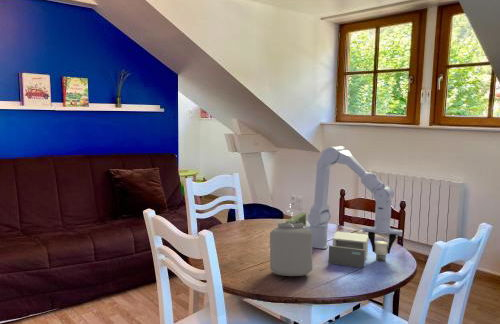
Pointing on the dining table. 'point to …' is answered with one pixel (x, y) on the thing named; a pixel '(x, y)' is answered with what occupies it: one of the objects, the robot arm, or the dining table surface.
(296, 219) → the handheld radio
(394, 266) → the dining table surface
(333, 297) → the dining table surface
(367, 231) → the robot arm
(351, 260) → the grey box with handle
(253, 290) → the dining table surface
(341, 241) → the box
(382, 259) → the stand
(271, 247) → the jar
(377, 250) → the cream cylinder
